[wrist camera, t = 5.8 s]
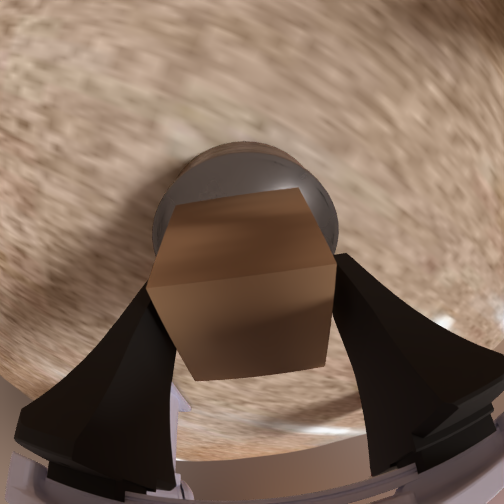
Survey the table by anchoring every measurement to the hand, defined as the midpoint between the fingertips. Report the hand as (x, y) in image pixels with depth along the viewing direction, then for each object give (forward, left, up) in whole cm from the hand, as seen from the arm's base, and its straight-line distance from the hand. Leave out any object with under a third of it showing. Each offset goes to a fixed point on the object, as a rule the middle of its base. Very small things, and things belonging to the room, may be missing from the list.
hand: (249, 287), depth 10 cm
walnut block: (0, 0, -3) cm, 3 cm away
